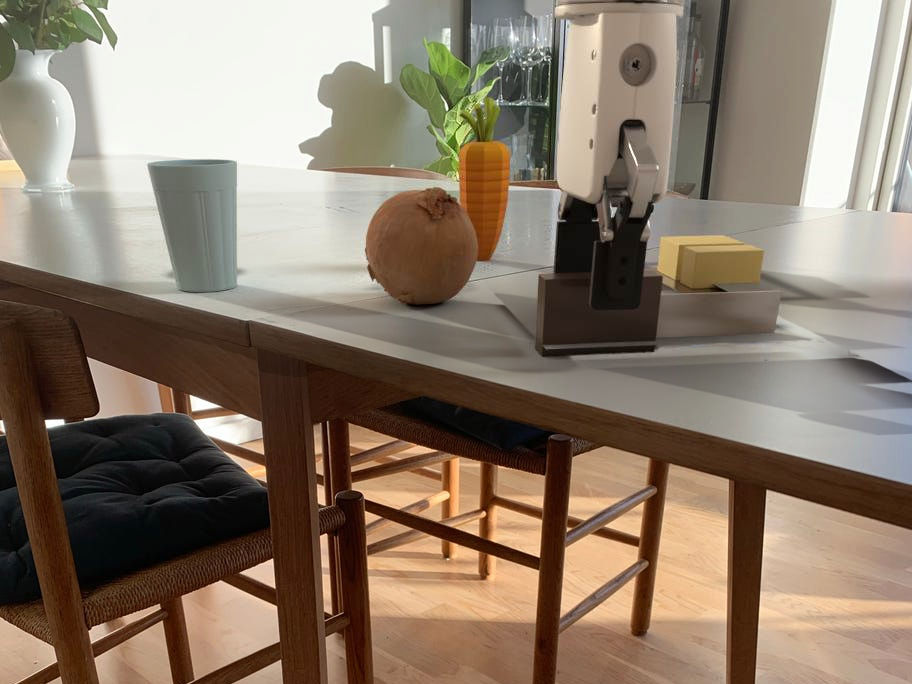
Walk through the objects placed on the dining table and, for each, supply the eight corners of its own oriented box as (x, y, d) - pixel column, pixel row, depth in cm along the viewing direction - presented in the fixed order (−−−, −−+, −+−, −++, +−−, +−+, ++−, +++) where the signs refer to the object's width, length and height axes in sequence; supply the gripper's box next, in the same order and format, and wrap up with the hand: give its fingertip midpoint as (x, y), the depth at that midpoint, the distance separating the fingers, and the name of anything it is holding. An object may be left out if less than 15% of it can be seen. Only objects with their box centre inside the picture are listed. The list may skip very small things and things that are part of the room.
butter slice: (744, 280, 84) (750, 244, 83) (758, 287, 81) (764, 249, 80) (679, 282, 83) (684, 246, 82) (691, 289, 81) (696, 251, 79)
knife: (765, 340, 68) (777, 266, 66) (778, 347, 66) (791, 272, 64) (534, 348, 67) (538, 273, 64) (541, 356, 65) (545, 279, 62)
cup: (175, 279, 91) (159, 158, 86) (254, 279, 91) (243, 158, 86) (156, 295, 85) (136, 165, 79) (241, 294, 85) (227, 165, 79)
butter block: (718, 269, 89) (723, 235, 88) (739, 278, 85) (744, 242, 84) (657, 271, 89) (660, 236, 87) (675, 280, 84) (679, 244, 83)
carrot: (481, 273, 93) (484, 97, 85) (448, 267, 96) (448, 97, 88) (517, 267, 96) (523, 97, 88) (483, 262, 99) (486, 96, 91)
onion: (459, 342, 81) (501, 235, 74) (352, 316, 78) (385, 202, 71) (452, 281, 87) (490, 177, 80) (352, 255, 84) (382, 144, 77)
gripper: (740, -25, 48) (692, 320, 57) (637, 1, 63) (610, 272, 72) (598, -28, 48) (570, 322, 56) (527, -1, 62) (514, 273, 71)
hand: (593, 294), depth 64 cm, fingers open, 9 cm apart
